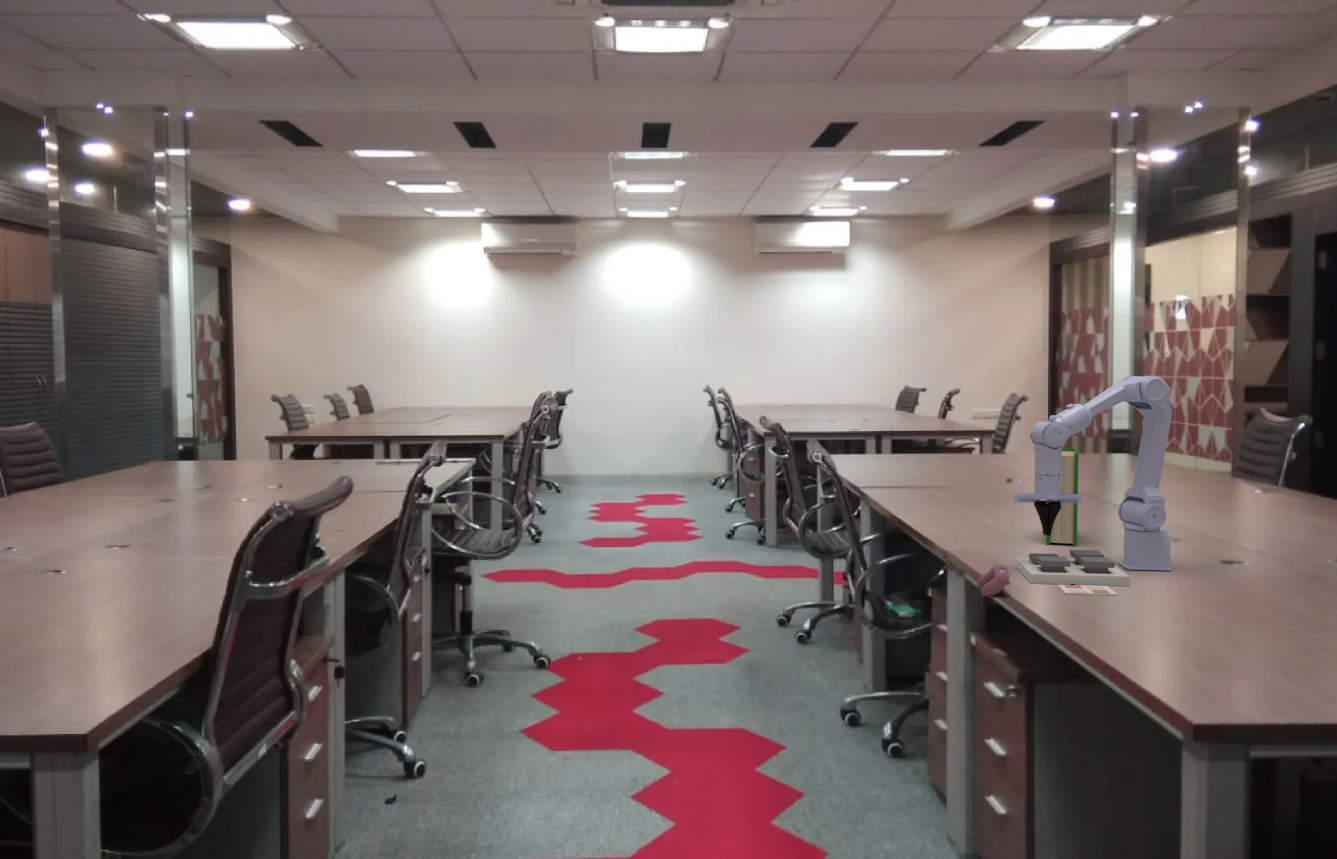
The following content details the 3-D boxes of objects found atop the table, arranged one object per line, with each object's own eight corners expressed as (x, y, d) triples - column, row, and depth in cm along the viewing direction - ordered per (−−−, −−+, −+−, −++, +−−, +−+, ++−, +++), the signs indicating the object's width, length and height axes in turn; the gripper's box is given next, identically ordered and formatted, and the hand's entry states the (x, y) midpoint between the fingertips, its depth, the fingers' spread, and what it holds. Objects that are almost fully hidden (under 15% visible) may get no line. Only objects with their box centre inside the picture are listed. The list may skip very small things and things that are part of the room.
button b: (1056, 567, 242) (1056, 553, 242) (1061, 572, 236) (1061, 558, 236) (1028, 566, 243) (1029, 553, 243) (1033, 571, 237) (1033, 557, 237)
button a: (1097, 563, 241) (1097, 550, 241) (1103, 568, 235) (1104, 555, 235) (1069, 563, 242) (1070, 549, 242) (1075, 568, 236) (1075, 554, 236)
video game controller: (1000, 605, 213) (1016, 575, 212) (979, 594, 214) (995, 564, 213) (994, 595, 223) (1010, 566, 222) (974, 584, 223) (990, 555, 222)
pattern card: (1107, 587, 222) (1107, 585, 222) (1117, 595, 214) (1117, 593, 214) (1057, 586, 224) (1057, 584, 224) (1065, 594, 216) (1065, 592, 216)
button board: (1106, 568, 243) (1106, 559, 243) (1129, 586, 223) (1129, 576, 223) (1015, 566, 246) (1015, 557, 246) (1031, 583, 226) (1031, 574, 226)
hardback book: (1076, 546, 272) (1078, 453, 271) (1046, 545, 275) (1047, 453, 273) (1076, 536, 289) (1078, 448, 287) (1047, 535, 291) (1049, 448, 290)
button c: (1107, 571, 232) (1107, 557, 232) (1114, 576, 226) (1114, 562, 226) (1078, 570, 233) (1078, 556, 233) (1084, 576, 227) (1085, 561, 227)
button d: (1064, 570, 233) (1064, 556, 233) (1070, 575, 227) (1070, 561, 227) (1036, 569, 234) (1036, 555, 234) (1041, 574, 228) (1041, 560, 228)
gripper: (1017, 476, 235) (1016, 536, 236) (1085, 477, 233) (1084, 538, 234) (1012, 473, 242) (1011, 531, 243) (1078, 473, 240) (1077, 533, 241)
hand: (1046, 534), depth 239 cm, fingers closed
